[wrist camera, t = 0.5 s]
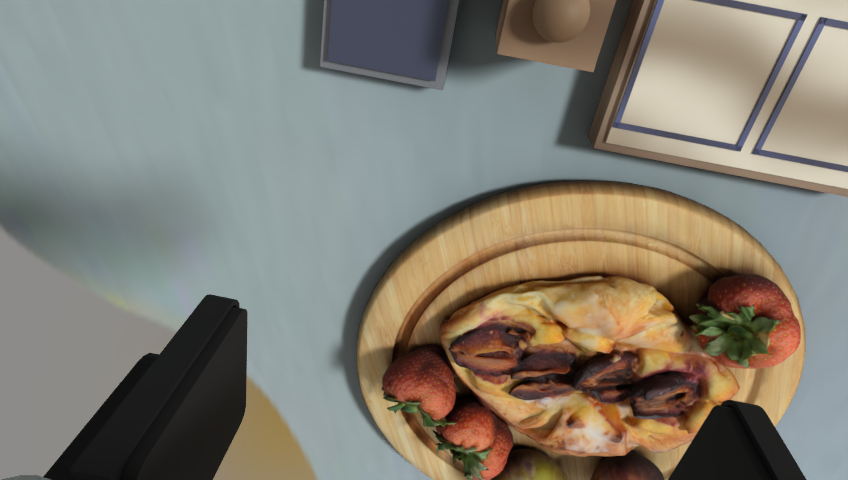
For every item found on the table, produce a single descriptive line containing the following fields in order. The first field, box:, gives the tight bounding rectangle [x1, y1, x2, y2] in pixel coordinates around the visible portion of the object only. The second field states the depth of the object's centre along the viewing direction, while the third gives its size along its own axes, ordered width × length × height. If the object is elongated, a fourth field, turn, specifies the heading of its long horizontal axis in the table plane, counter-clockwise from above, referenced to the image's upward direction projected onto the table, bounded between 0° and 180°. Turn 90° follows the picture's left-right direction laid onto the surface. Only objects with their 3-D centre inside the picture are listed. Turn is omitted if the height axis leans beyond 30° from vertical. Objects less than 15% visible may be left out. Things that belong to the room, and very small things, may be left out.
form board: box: [588, 0, 848, 197], centre depth 29 cm, size 10×16×2 cm, turn 81°
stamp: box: [495, 0, 616, 72], centre depth 26 cm, size 4×4×8 cm
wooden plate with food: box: [357, 181, 806, 480], centre depth 38 cm, size 32×32×8 cm
